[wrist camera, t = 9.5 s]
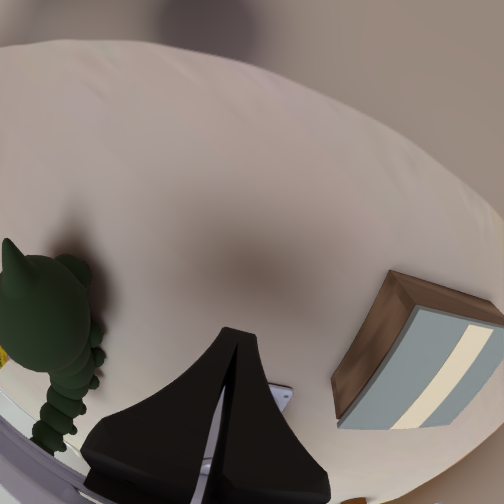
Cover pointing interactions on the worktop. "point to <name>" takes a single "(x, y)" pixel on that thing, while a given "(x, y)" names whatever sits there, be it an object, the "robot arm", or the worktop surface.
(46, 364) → the toy figurine
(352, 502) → the disposable coffee cup
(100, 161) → the worktop surface
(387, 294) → the box
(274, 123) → the worktop surface
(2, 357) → the supplement bottle
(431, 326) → the lid
